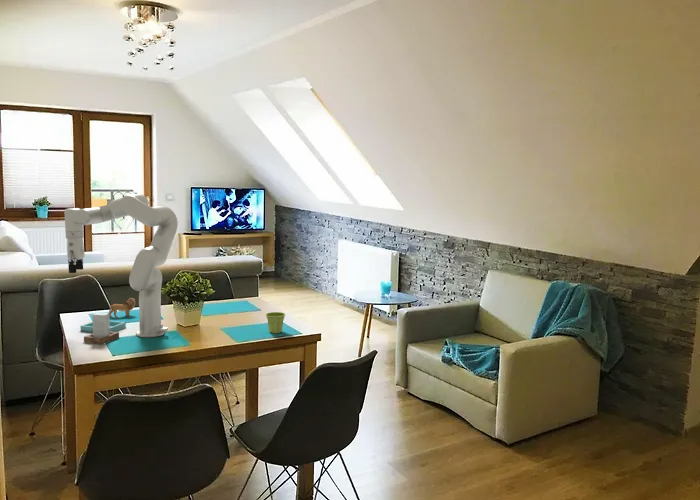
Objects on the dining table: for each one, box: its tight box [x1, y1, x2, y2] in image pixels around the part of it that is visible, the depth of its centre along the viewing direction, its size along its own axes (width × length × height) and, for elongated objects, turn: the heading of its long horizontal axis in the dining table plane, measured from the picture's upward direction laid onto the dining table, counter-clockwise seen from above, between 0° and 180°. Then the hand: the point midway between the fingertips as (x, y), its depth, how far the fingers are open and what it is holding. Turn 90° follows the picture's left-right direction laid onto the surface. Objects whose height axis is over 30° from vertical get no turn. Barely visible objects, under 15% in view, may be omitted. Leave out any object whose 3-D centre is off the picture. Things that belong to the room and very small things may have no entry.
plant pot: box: [265, 311, 286, 334], centre depth 288 cm, size 9×9×9 cm
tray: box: [80, 320, 127, 334], centre depth 285 cm, size 15×13×2 cm
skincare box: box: [92, 312, 111, 338], centre depth 267 cm, size 6×4×12 cm
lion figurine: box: [108, 297, 137, 319], centre depth 310 cm, size 15×5×9 cm, turn 129°
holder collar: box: [83, 331, 120, 345], centre depth 267 cm, size 9×11×2 cm
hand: (76, 271), depth 281 cm, fingers open, 9 cm apart
